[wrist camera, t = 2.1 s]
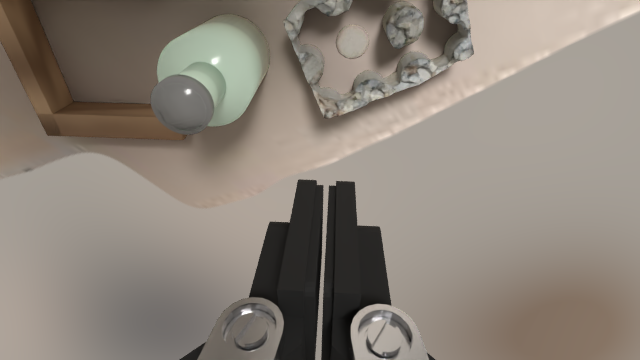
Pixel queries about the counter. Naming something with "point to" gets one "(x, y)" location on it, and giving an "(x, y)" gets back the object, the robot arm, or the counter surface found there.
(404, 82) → the egg carton
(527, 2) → the counter surface
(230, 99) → the bottle
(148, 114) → the rest
